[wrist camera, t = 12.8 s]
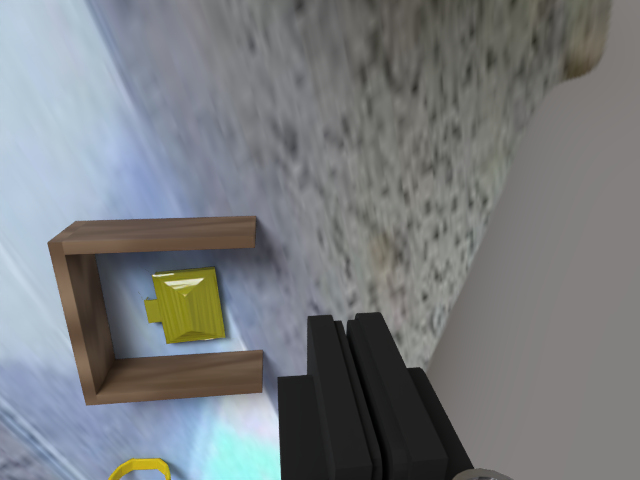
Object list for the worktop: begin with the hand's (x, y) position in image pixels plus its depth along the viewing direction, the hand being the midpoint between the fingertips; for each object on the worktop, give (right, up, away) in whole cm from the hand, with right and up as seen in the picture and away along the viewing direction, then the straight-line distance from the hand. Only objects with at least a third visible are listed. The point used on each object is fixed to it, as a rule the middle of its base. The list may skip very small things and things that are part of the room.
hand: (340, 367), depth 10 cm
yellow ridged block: (-13, -3, +31) cm, 34 cm away
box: (-13, -2, +30) cm, 32 cm away
